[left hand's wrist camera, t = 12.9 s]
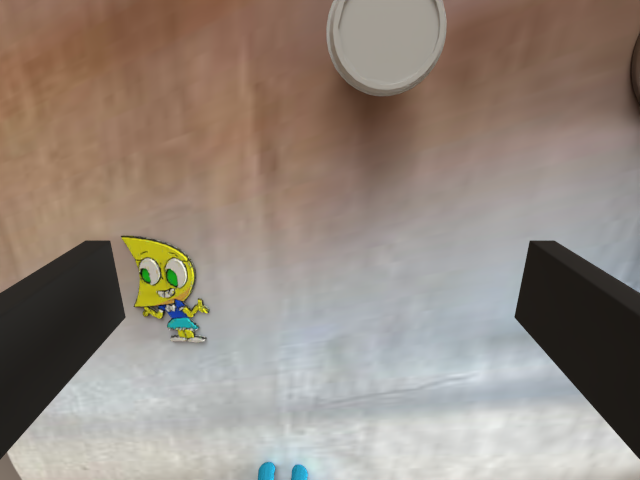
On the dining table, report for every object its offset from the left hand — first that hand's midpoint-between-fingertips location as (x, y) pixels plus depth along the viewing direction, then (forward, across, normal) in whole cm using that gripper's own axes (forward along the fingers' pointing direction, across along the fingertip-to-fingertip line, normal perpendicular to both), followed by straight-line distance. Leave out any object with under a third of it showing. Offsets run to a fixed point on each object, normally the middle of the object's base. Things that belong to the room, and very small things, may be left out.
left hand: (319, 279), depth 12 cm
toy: (+34, -20, -18) cm, 44 cm away
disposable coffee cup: (+34, +5, +10) cm, 36 cm away
